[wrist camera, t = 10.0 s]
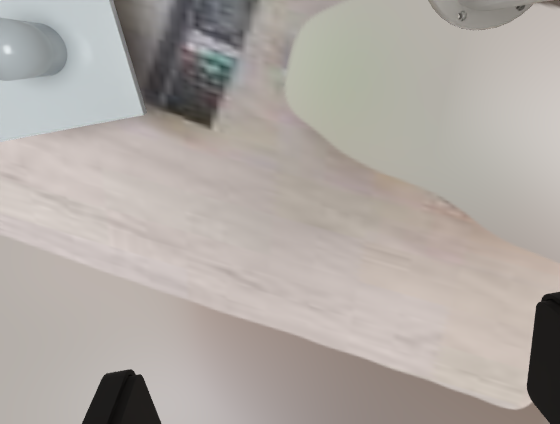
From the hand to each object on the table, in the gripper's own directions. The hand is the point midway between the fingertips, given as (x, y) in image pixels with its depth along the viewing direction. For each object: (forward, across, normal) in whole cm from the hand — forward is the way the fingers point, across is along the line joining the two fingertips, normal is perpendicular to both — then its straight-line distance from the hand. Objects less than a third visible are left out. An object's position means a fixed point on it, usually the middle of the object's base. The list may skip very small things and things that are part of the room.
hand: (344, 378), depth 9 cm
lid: (+24, +15, -10) cm, 30 cm away
